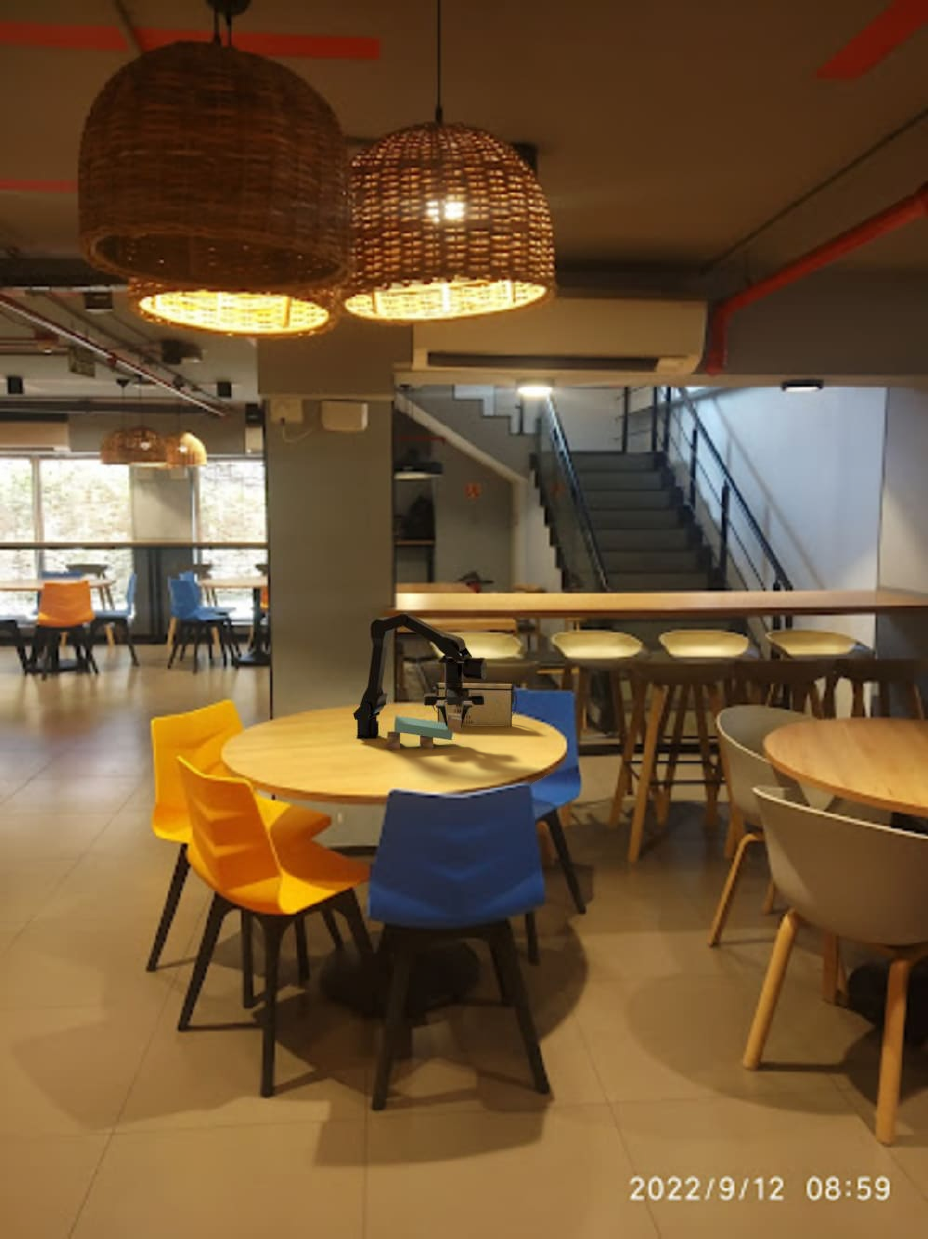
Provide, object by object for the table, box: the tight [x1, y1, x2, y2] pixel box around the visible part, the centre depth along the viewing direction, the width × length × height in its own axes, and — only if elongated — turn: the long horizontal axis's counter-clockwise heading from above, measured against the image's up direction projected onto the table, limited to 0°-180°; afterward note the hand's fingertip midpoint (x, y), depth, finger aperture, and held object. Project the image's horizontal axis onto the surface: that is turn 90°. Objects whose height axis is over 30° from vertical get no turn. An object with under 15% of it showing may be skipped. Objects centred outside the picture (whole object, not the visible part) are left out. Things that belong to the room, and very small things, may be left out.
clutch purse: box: [432, 682, 518, 727], centre depth 309 cm, size 30×7×15 cm, turn 86°
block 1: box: [386, 731, 401, 751], centre depth 281 cm, size 4×8×4 cm, turn 3°
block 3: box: [447, 713, 462, 733], centre depth 281 cm, size 8×4×4 cm, turn 3°
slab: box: [393, 715, 454, 741], centre depth 281 cm, size 18×9×3 cm, turn 95°
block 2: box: [419, 735, 434, 750], centre depth 282 cm, size 4×8×4 cm, turn 4°
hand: (453, 725), depth 282 cm, fingers open, 4 cm apart
